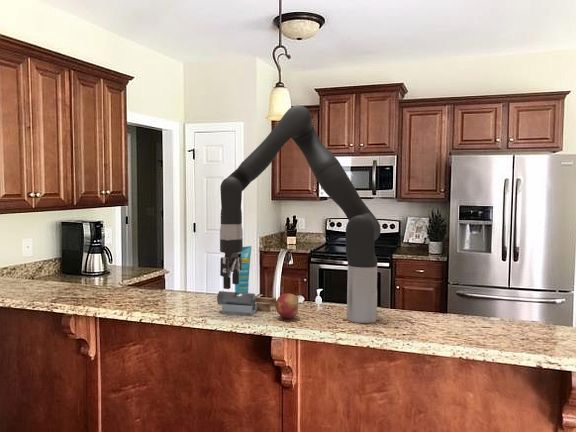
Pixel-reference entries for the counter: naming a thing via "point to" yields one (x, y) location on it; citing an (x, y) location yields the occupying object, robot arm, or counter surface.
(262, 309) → the brown flat wooden block
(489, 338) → the counter surface
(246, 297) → the grey cylinder
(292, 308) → the fruit
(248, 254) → the tube
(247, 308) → the v block
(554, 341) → the counter surface
